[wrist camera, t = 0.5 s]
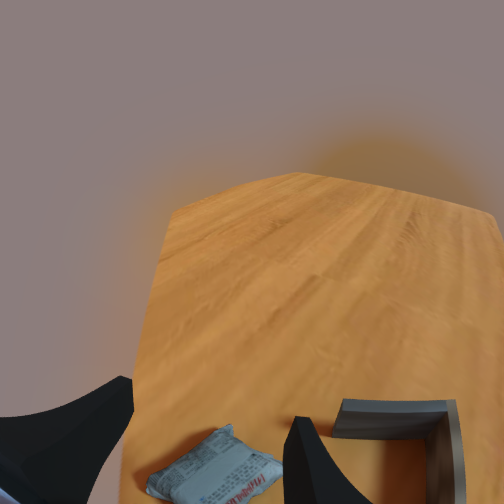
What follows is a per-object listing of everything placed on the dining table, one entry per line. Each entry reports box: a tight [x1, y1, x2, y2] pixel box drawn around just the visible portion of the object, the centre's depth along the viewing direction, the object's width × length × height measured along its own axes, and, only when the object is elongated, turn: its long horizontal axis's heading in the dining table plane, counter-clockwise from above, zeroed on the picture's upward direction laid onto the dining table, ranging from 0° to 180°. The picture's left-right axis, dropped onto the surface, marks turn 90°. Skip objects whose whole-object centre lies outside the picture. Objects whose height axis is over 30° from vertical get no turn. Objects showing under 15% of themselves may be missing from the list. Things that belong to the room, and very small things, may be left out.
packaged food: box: [146, 424, 283, 504], centre depth 20 cm, size 9×12×5 cm
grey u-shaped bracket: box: [332, 399, 466, 504], centre depth 16 cm, size 19×12×6 cm, turn 165°
